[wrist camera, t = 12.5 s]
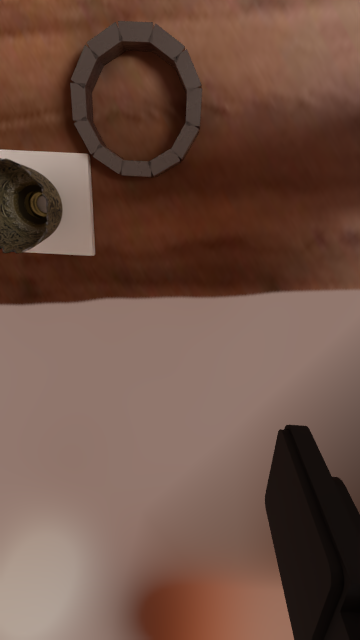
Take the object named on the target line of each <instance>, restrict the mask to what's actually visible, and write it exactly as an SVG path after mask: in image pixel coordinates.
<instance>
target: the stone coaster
mask: <svg viewBox="0 0 360 640" xmlns="http://www.w3.org/2000/svg"><path fill="white" fill-rule="evenodd" d="M0 158H2V159H5V158H7V159H10V160H12V161H14V162H16V163H19V164H21V165H24V166H26V167H29V168H31V169H33V170H35V171H37V172H39V173H40V174H42V175H44V176H45V177H46V178H47V179H48V180H49V181H50V182H51V183H52V184H53V185H54V186H55V188H56V189H57V191H58V193H59V195H60V198H61V201H62V208H63V212H62V219H61V222H60V224H59V226H58V227H57V229H56V230H55V232H54V233H53V234H52V235H50V236H49V237H48V238H47V239H45V240H44V241H42V242H41V243H39V244H38V245H36V246H35V247H33V248H31V249H30V250H27V251H25V252H30V253H49V254H67V255H85V256H94V255H95V238H94V220H93V202H92V183H91V165H90V154H83V153H61V152H40V151H19V150H0ZM37 207H38V208H39V210H40V211H42V212H45V213H47V210H46V199H45V198H44V197H43V196H40V197H39V198H38V199H37Z"/></svg>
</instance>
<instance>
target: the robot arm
mask: <svg viewBox="0 0 360 640" xmlns="http://www.w3.org/2000/svg"><path fill="white" fill-rule="evenodd" d="M265 506H266V512H267V516H268V521H269V526H270V530H271V535H272V539H273V544H274V548H275V553H276V558H277V562H278V567H279V572H280V576H281V581H282V585H283V589H284V594H285V599H286V604H287V608H288V612H289V617H290V622H291V626H292V630H293V635H294V640H360V514H359V512H358V510H357V508H356V506H355V504H354V502H353V501H352V499H351V497H350V494H349V493H348V491H347V488H346V487H345V485H344V483H343V482H342V480H340V479H339V478H338V477H332V476H331V474H330V472H329V470H328V468H327V466H326V464H325V461H324V459H323V457H322V455H321V453H320V451H319V449H318V447H317V445H316V442H315V440H314V438H313V436H312V434H311V432H310V430H309V428H308V427H307V426H298V425H286V426H285V429H284V430H279V431H278V435H277V440H276V445H275V450H274V455H273V460H272V465H271V470H270V474H269V479H268V484H267V489H266V494H265Z"/></svg>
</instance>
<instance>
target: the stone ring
mask: <svg viewBox="0 0 360 640" xmlns="http://www.w3.org/2000/svg"><path fill="white" fill-rule="evenodd" d="M118 26H119V28H118ZM118 26H117V24H116V22H115V23H113V24H112V25H111V26H109V27H108V28H106V29H105V30H104V31H102V32H101V33H99V34H98V35H97V36H95V37H94V38H92V39H91V40H90V41H88V42H87V43H88V45H89V47H90V48H88V47H87V46H86V45H85V46H84V49H83V51H82V54H81V56H80V58H79V61H78V63H77V66H76V68H75V70H74V73H73V75H72V78H71V80H72V81H73V82H74V83H70V86H71V100H72V115H73V121H75V123H74V125H75V127H76V128H77V130H78V132H79V134H80V136H81V137H82V139H83V141H84V143H85V145H86V147H87V148H88V150H89V152H90V154H91V155H93V157H94V158H96V159H97V160H99V161H100V162H102V163H103V164H105V165H106V166H107V167H109V168H110V169H112V170H113V171H115V172H116V173H118V174H120V175H123V176H137V177H154V176H155V177H156V176H158V175H160V174H162V173H163V172H165V171H167V170H168V169H170V168H172V167H174V166H175V165H177V164H179V163H181V162H180V159H182V160H183V159H184V157H185V156H186V154H187V152H188V150H189V149H190V147H191V145H192V144H193V142H194V140H195V138H196V137H197V135H198V133H199V130H200V115H201V99H202V88H201V86H202V85H201V82H200V80H199V78H198V75H197V73H196V70H195V68H194V65H193V63H192V61H191V58H190V56H189V53H188V51H187V49H186V50H185V46H184V45H182V44H181V43H180V42H179V41H177V40H176V39H175V38H174V37H172V36H171V35H170V34H168V33H167V32H166V31H165V30H163V29H162V28H161V27H159V26H158V25H157V24H155V26H154V25H153V22H128V21H118ZM126 50H128V51H153V52H154V53H155V54H157V55H158V56H159V57H161V58H162V59H163V60H165V61H166V62H167V63H169V64H170V65H171V66H172V67H174V68H175V69H176V71H177V73H178V76H179V78H180V80H181V83H182V85H183V87H184V90H185V92H186V94H187V103H186V123H185V125H184V126H183V128H182V130H181V132H180V134H179V135H178V137H177V139H176V141H175V143H174V144H173V146H172V148H171V149H169V150H167V151H166V152H164V153H162V154H161V155H159V156H157V157H156V158H154V159H152V160H151V161H128V160H124V159H123V158H121V157H120V156H118V155H117V154H116V153H114V152H113V151H111V150H110V149H108V148H107V147H106V145H105V143H104V142H103V140H102V138H101V136H100V134H99V132H98V130H97V128H96V127H95V125H94V123H93V106H92V91H93V89H94V87H95V84H96V82H97V80H98V78H99V75H100V73H101V71H102V68H103V66H104V65H106V64H107V63H109V62H110V61H112V60H113V59H114V58H116V57H117V56H119V55H120V54H122V53H123V52H125V51H126ZM179 158H180V159H179Z"/></svg>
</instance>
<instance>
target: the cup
mask: <svg viewBox="0 0 360 640" xmlns="http://www.w3.org/2000/svg"><path fill="white" fill-rule="evenodd" d="M40 196H43V197H44V198H45V199H46V210H47V213H45V212H42V211H40V210H39V208H38V207H37V199H38V198H39V197H40ZM62 212H63V208H62V201H61V198H60V195H59V193H58V191H57V189H56V188H55V186H54V185H53V184H52V183H51V182H50V181H49V180H48V179H47V178H46V177H45V176H44V175H42V174H40V173H39V172H37V171H35V170H33V169H31V168H29V167H26V166H24V165H21V164H19V163H16V162H14V161H12V160H10V159H7V158H5V159H2V158H0V249H1V248H3V253H9V252H15V253H23V252H25V251H27V250H30V249H31V248H33V247H35V246H36V245H38V244H39V243H41V242H42V241H44V240H45V239H47V238H48V237H49V236H50V235H52V234H53V233H54V232H55V230H56V229H57V227H58V226H59V224H60V222H61V219H62Z"/></svg>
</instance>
